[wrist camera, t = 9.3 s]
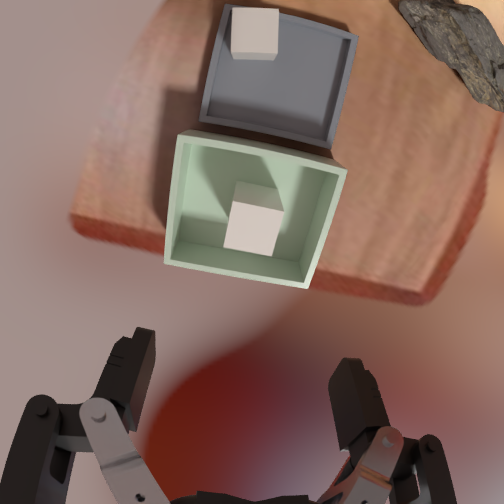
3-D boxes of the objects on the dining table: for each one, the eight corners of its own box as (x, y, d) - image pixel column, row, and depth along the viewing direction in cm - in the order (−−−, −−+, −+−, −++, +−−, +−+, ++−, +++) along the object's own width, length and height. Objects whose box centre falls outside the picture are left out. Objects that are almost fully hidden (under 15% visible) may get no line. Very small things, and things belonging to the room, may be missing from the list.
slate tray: (226, 8, 20) (225, 3, 19) (353, 38, 21) (358, 36, 20) (201, 120, 25) (198, 121, 24) (327, 146, 26) (330, 149, 25)
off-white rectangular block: (236, 180, 28) (232, 200, 22) (277, 189, 28) (284, 211, 23) (228, 218, 29) (223, 247, 24) (267, 226, 30) (271, 256, 25)
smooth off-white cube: (235, 20, 20) (232, 7, 17) (275, 21, 20) (278, 9, 17) (233, 59, 22) (230, 52, 19) (273, 60, 22) (277, 53, 19)
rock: (534, 70, 16) (529, 135, 17) (496, 75, 22) (485, 133, 24) (434, -43, 11) (420, 9, 13) (399, -18, 18) (378, 34, 20)
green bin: (188, 129, 26) (177, 134, 22) (333, 159, 27) (347, 170, 23) (174, 242, 31) (163, 263, 27) (301, 264, 33) (307, 288, 29)
